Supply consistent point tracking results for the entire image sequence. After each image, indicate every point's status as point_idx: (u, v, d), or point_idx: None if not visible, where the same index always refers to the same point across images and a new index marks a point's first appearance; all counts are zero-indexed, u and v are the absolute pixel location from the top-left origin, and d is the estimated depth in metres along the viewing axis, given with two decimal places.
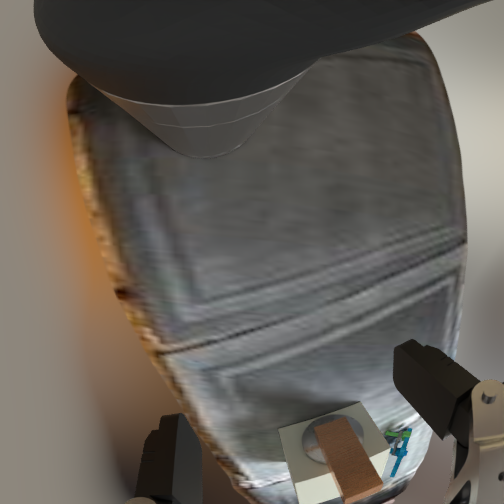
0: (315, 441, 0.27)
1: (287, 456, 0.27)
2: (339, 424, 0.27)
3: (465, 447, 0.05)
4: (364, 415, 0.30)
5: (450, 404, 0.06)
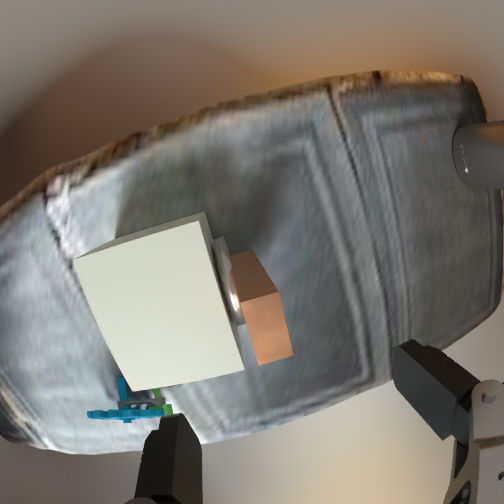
0: (229, 255, 0.24)
1: (202, 217, 0.23)
2: None
3: (465, 447, 0.05)
4: (236, 325, 0.27)
5: (450, 404, 0.06)
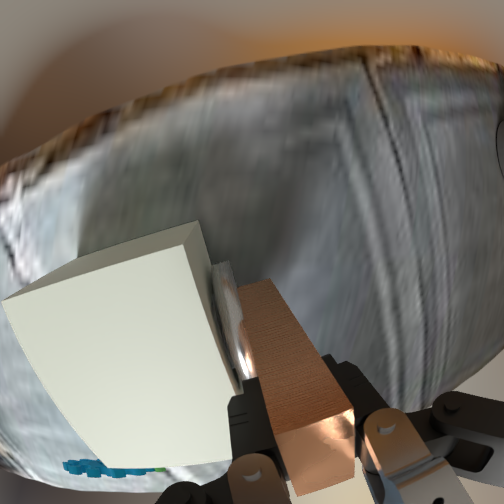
0: (236, 289, 0.15)
1: (193, 232, 0.14)
2: None
3: (378, 474, 0.05)
4: None
5: None
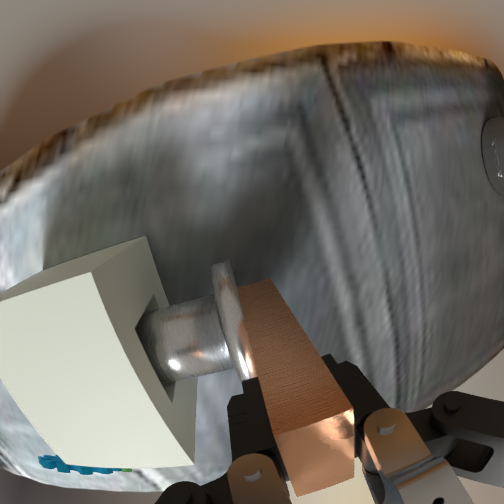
0: None
1: (124, 252, 0.14)
2: None
3: (378, 474, 0.05)
4: (193, 389, 0.19)
5: None
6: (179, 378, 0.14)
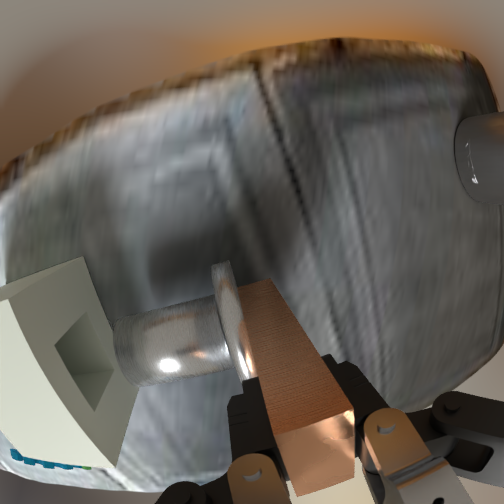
0: None
1: (50, 276, 0.13)
2: None
3: (378, 474, 0.05)
4: (130, 399, 0.18)
5: None
6: (179, 378, 0.14)
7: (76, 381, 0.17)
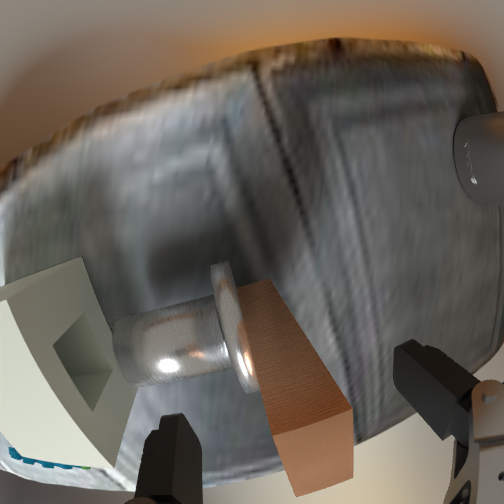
0: (236, 290, 0.15)
1: (48, 277, 0.13)
2: None
3: (465, 447, 0.05)
4: (128, 399, 0.18)
5: (450, 404, 0.06)
6: (178, 378, 0.14)
7: (75, 381, 0.17)
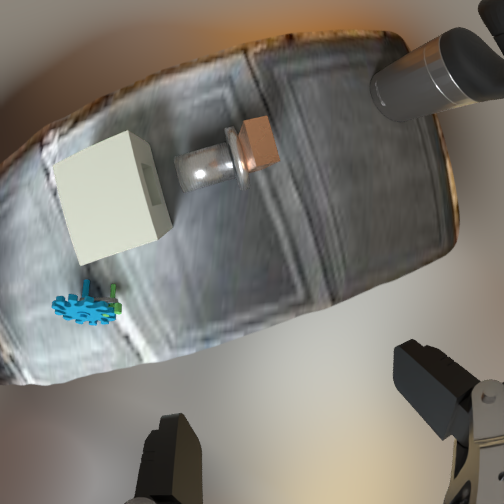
0: None
1: (139, 138, 0.29)
2: None
3: (465, 447, 0.05)
4: (167, 225, 0.34)
5: (450, 404, 0.06)
6: (206, 178, 0.30)
7: None
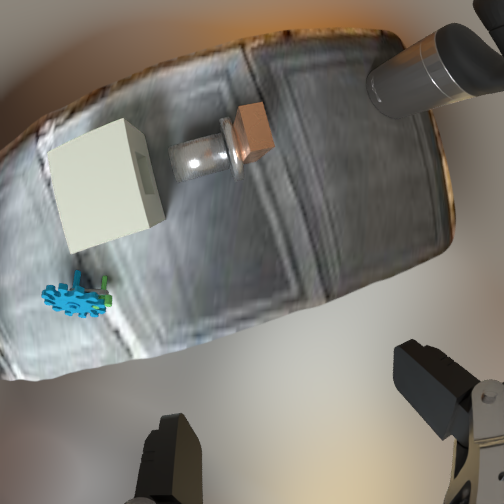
0: None
1: (134, 127, 0.28)
2: None
3: (465, 447, 0.05)
4: (160, 216, 0.33)
5: (450, 404, 0.06)
6: (200, 167, 0.29)
7: None
